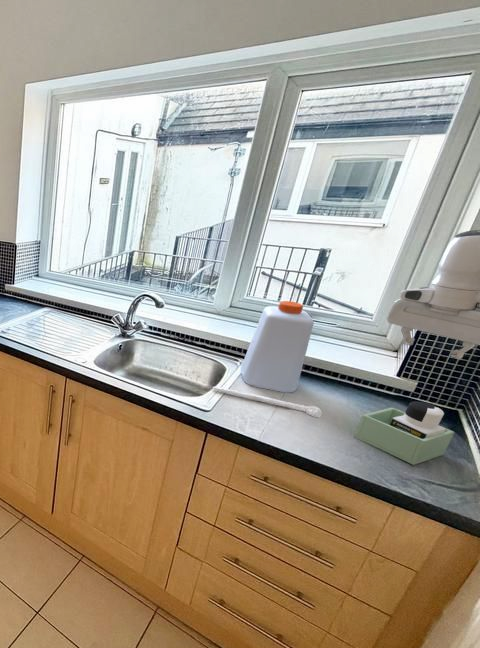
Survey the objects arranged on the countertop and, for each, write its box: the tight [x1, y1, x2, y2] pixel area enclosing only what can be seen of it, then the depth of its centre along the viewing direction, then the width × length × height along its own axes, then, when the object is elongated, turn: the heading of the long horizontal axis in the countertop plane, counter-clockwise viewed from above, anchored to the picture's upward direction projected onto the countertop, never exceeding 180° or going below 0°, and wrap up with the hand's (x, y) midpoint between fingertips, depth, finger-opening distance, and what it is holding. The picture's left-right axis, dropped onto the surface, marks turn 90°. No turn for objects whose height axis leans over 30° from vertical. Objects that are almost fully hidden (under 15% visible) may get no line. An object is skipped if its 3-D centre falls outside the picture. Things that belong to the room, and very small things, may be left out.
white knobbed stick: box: [212, 386, 323, 418], centre depth 128 cm, size 28×4×3 cm, turn 59°
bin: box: [354, 407, 455, 466], centre depth 108 cm, size 13×13×7 cm
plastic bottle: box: [240, 300, 315, 394], centre depth 137 cm, size 15×15×28 cm
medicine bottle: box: [390, 401, 447, 439], centre depth 105 cm, size 7×7×12 cm
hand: (430, 350), depth 106 cm, fingers open, 8 cm apart
